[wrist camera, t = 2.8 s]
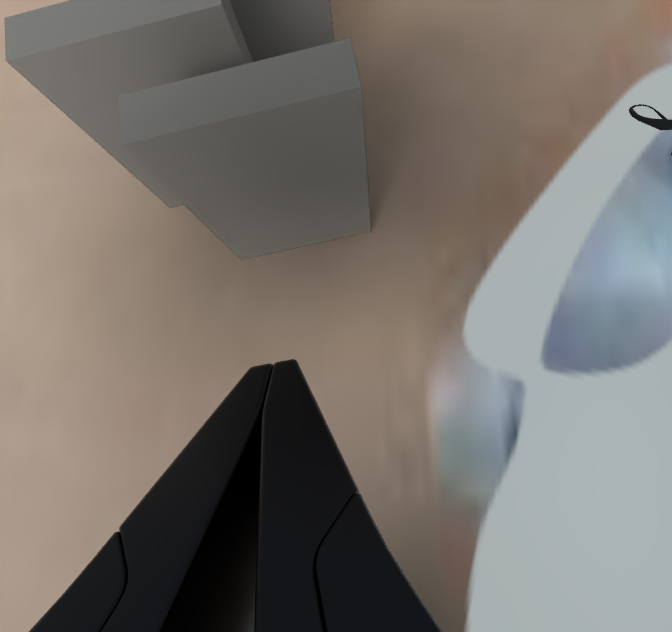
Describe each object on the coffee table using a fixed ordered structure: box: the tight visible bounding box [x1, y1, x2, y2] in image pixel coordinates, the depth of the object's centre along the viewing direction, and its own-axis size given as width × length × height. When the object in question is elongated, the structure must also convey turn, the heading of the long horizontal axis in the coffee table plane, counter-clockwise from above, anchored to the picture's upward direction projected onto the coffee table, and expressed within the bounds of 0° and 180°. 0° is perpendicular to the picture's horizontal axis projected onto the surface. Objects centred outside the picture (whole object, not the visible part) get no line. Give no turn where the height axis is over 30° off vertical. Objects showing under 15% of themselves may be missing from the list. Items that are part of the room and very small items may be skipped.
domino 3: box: [118, 38, 371, 260], centre depth 15 cm, size 1×6×9 cm, turn 101°
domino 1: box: [5, 0, 253, 208], centre depth 16 cm, size 1×6×9 cm, turn 101°
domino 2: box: [230, 0, 335, 62], centre depth 16 cm, size 1×6×9 cm, turn 101°
